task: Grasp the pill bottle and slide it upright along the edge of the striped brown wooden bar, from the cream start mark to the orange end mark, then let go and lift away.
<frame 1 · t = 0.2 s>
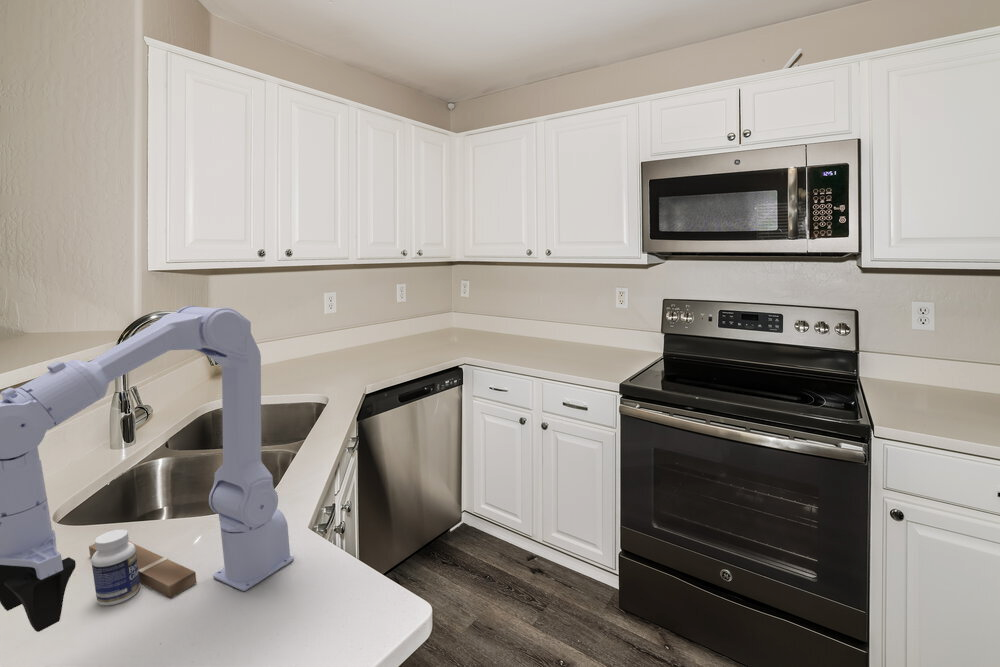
hand: (31, 615, 59), 10 cm above the worktop, tool pointing down, fingers open, 7 cm apart
pill bottle: (119, 596, 78), on the worktop
striped brown wooden bar: (141, 569, 84), on the worktop
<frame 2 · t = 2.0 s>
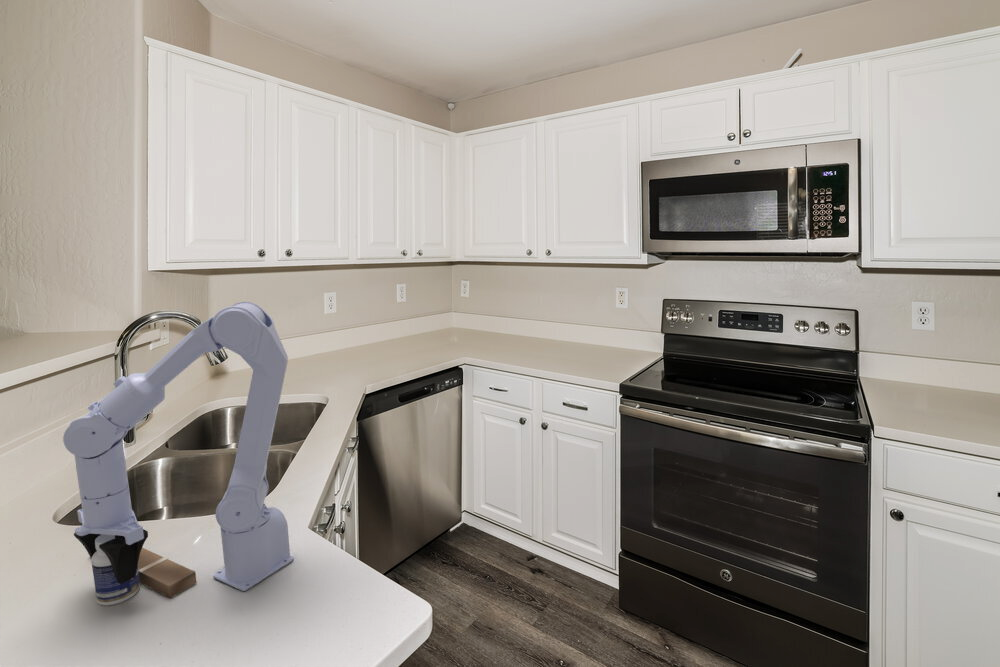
hand: (116, 574, 77), 3 cm above the worktop, tool pointing down, fingers closed on pill bottle, 5 cm apart
pill bottle: (119, 595, 78), on the worktop, touching gripper
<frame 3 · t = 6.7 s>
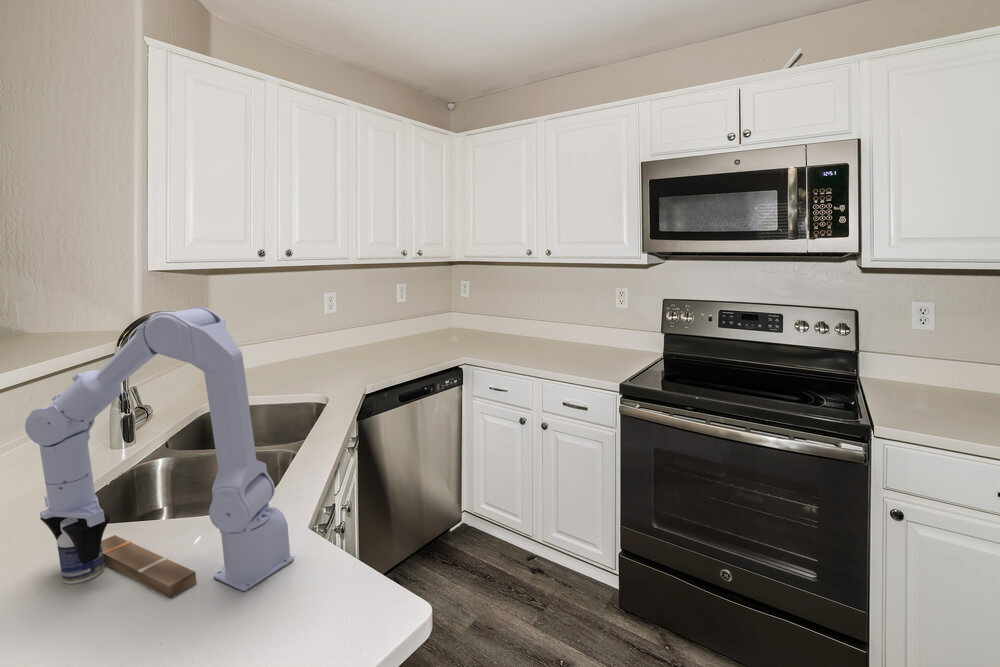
hand: (80, 555, 82), 3 cm above the worktop, tool pointing down, fingers closed on pill bottle, 5 cm apart
pill bottle: (84, 575, 83), on the worktop, touching gripper
when the fingers open (3 cm above the worktop, at t = 6.8 s): pill bottle stays where it is, on the worktop.
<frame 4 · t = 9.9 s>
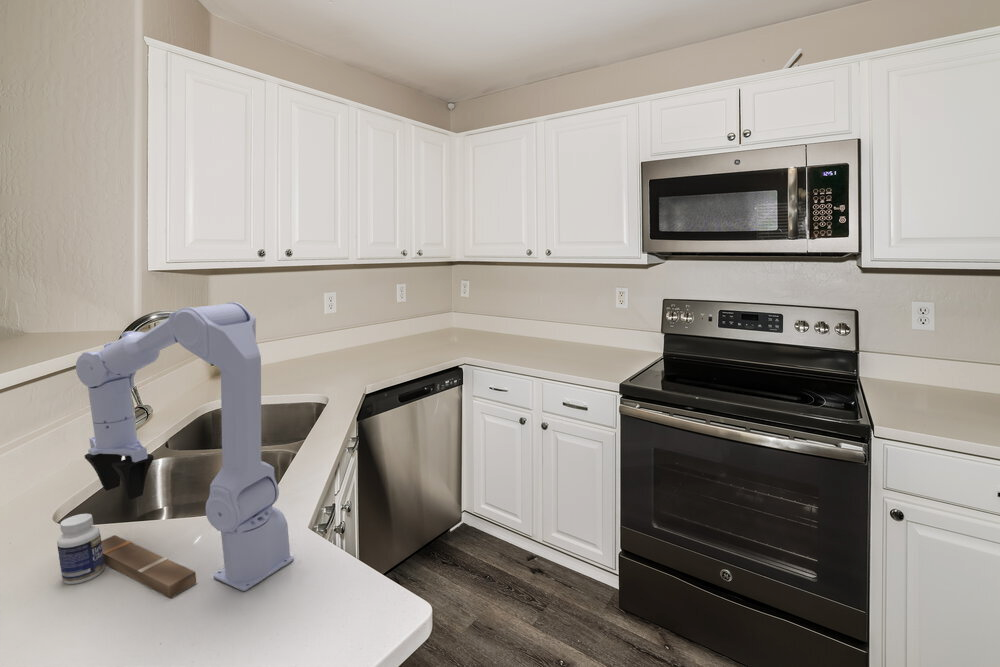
hand: (123, 492, 89), 10 cm above the worktop, tool pointing down, fingers open, 7 cm apart
pill bottle: (84, 576, 83), on the worktop
at the end: pill bottle 0.1 cm from the target spot, on the worktop; pill bottle tilted 0°; the gripper is holding nothing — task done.
